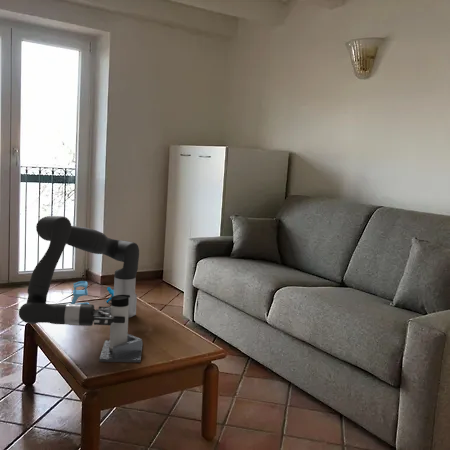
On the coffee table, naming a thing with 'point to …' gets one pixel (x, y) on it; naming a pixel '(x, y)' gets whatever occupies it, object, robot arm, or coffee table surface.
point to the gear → (110, 293)
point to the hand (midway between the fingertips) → (125, 316)
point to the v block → (123, 351)
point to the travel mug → (119, 329)
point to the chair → (79, 291)
